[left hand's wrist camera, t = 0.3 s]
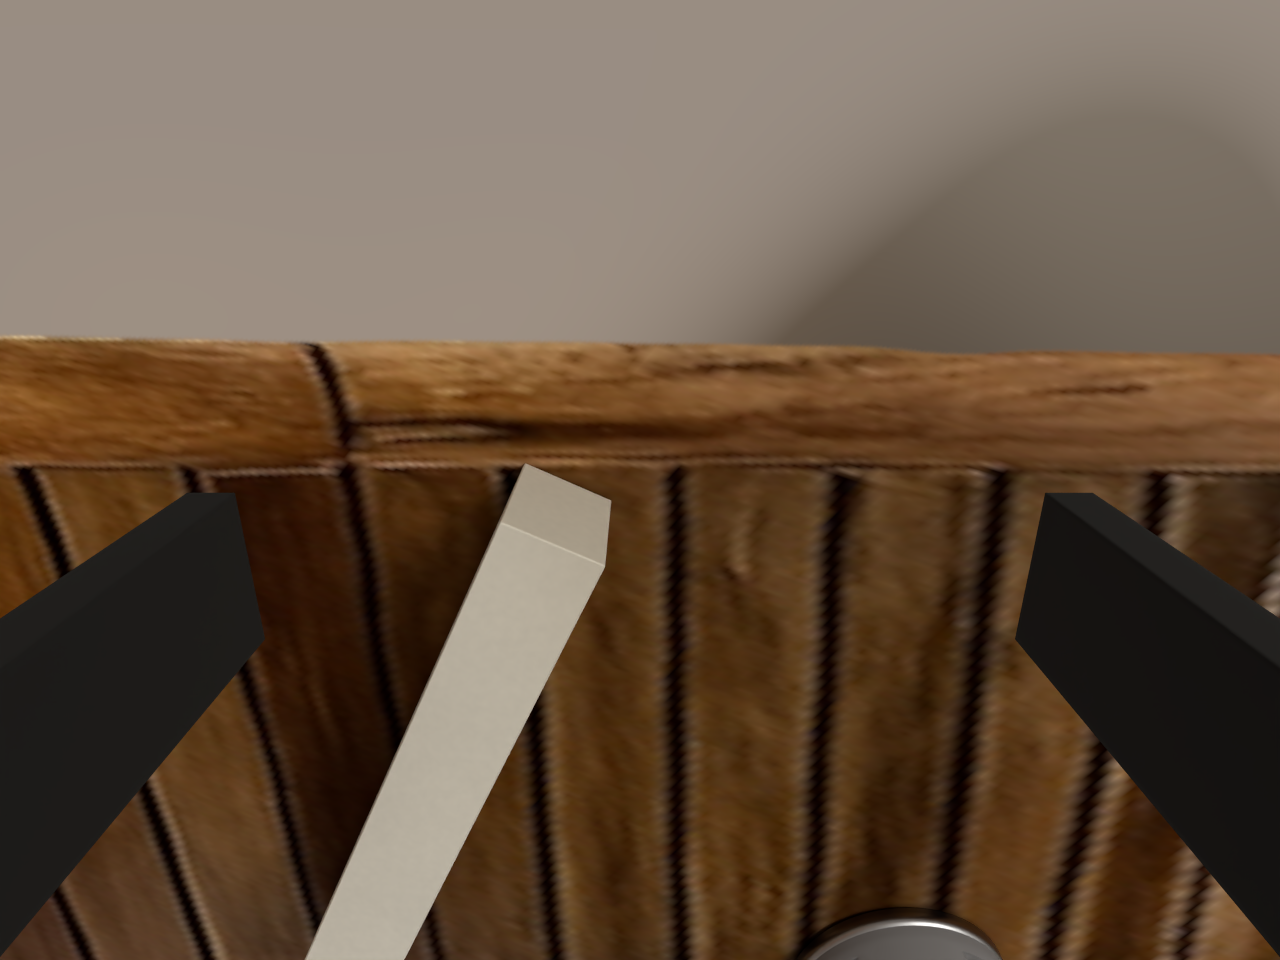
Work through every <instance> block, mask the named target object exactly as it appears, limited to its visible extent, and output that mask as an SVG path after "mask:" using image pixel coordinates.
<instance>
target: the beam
mask: <svg viewBox="0 0 1280 960" xmlns="http://www.w3.org/2000/svg"><path fill="white" fill-rule="evenodd" d="M610 507H611V501H610V500H609V499H606V498H604V497H602V496H599V495H597V494H595V493H593V492H590V491H588V490H586V489H583V488H581V487H579V486H576V485H574V484H572V483H570V482H567V481H565V480H563V479H560V478H558V477H556V476H553V475H551V474H549V473H547V472H544V471H542V470H540V469H537V468H535V467H533V466H530V465H528V464H524V466H523V468H522V470H521V472H520V475H519V477H518V479H517V481H516V484H515V486H514V488H513V490H512V493H511V495H510V497H509V499H508V502H507V504H506V506H505V508H504V511H503V513H502V515H501V517H500V520H499V522H498V524H497V526H496V529H495V531H494V533H493V535H492V538H491V540H490V542H489V544H488V547H487V549H486V551H485V553H484V556H483V558H482V560H481V562H480V565H479V567H478V569H477V571H476V574H475V576H474V578H473V580H472V583H471V585H470V587H469V589H468V592H467V594H466V596H465V598H464V601H463V603H462V605H461V607H460V610H459V612H458V614H457V616H456V619H455V621H454V623H453V625H452V628H451V630H450V632H449V634H448V637H447V639H446V641H445V643H444V646H443V648H442V650H441V652H440V655H439V657H438V659H437V661H436V664H435V666H434V668H433V670H432V673H431V675H430V677H429V679H428V682H427V684H426V686H425V688H424V691H423V693H422V695H421V697H420V700H419V702H418V704H417V706H416V709H415V711H414V713H413V715H412V718H411V720H410V722H409V724H408V727H407V729H406V731H405V733H404V736H403V738H402V740H401V742H400V745H399V747H398V749H397V751H396V754H395V756H394V758H393V760H392V763H391V765H390V767H389V769H388V772H387V774H386V776H385V778H384V781H383V783H382V785H381V788H380V790H379V792H378V794H377V797H376V799H375V801H374V803H373V806H372V808H371V810H370V812H369V815H368V817H367V819H366V821H365V824H364V826H363V828H362V830H361V833H360V835H359V837H358V839H357V842H356V844H355V846H354V848H353V851H352V853H351V855H350V857H349V860H348V862H347V864H346V866H345V869H344V871H343V873H342V875H341V878H340V880H339V882H338V884H337V887H336V889H335V891H334V893H333V896H332V898H331V900H330V902H329V905H328V907H327V909H326V912H325V914H324V916H323V918H322V921H321V923H320V925H319V928H318V930H317V932H316V935H315V937H314V939H313V941H312V944H311V946H310V948H309V951H308V953H307V955H306V957H305V960H404V959H405V957H406V955H407V953H408V951H409V949H410V947H411V945H412V943H413V941H414V940H415V938H416V936H417V934H418V932H419V930H420V928H421V926H422V924H423V922H424V920H425V918H426V916H427V914H428V912H429V910H430V908H431V906H432V904H433V902H434V900H435V898H436V896H437V895H438V893H439V891H440V889H441V887H442V885H443V883H444V881H445V879H446V877H447V875H448V873H449V871H450V869H451V867H452V865H453V863H454V861H455V859H456V857H457V855H458V853H459V851H460V850H461V848H462V846H463V844H464V842H465V840H466V838H467V836H468V834H469V832H470V830H471V828H472V826H473V824H474V822H475V820H476V818H477V816H478V814H479V812H480V810H481V808H482V806H483V805H484V803H485V801H486V799H487V797H488V795H489V793H490V791H491V789H492V787H493V785H494V783H495V781H496V779H497V777H498V775H499V773H500V771H501V769H502V767H503V765H504V763H505V761H506V760H507V758H508V756H509V754H510V752H511V750H512V748H513V746H514V744H515V742H516V740H517V738H518V736H519V734H520V732H521V730H522V728H523V726H524V724H525V722H526V720H527V718H528V716H529V715H530V713H531V711H532V709H533V707H534V705H535V703H536V701H537V699H538V697H539V695H540V693H541V691H542V689H543V687H544V685H545V683H546V681H547V679H548V677H549V675H550V673H551V671H552V670H553V668H554V666H555V664H556V662H557V660H558V658H559V656H560V654H561V652H562V650H563V648H564V646H565V644H566V642H567V640H568V638H569V636H570V634H571V632H572V630H573V628H574V626H575V624H576V623H577V621H578V619H579V617H580V615H581V613H582V611H583V609H584V607H585V605H586V603H587V601H588V599H589V597H590V595H591V593H592V591H593V589H594V587H595V585H596V583H597V581H598V579H599V578H600V576H601V574H602V572H603V570H604V568H605V561H606V550H607V540H608V529H609V518H610Z"/></svg>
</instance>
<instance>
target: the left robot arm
mask: <svg viewBox="0 0 1280 960" xmlns="http://www.w3.org/2000/svg"><path fill="white" fill-rule="evenodd" d="M264 640H265V637H264V632H263V628H262V623H261V618H260V613H259V608H258V603H257V599H256V594H255V589H254V584H253V579H252V574H251V570H250V565H249V560H248V555H247V550H246V545H245V541H244V536H243V531H242V526H241V521H240V516H239V512H238V507H237V502H236V497H235V493H186V494H185V495H184V496H182V497H181V498H179V499H178V500H176V501H175V502H173V503H172V504H170V505H169V506H167V507H166V508H164V509H163V510H161V511H160V512H158V513H157V514H155V515H154V516H152V517H151V518H149V519H148V520H146V521H145V522H143V523H142V524H140V525H139V526H137V527H136V528H134V529H133V530H131V531H130V532H128V533H127V534H125V535H124V536H122V537H121V538H119V539H118V540H117V541H115V542H114V543H112V544H111V545H109V546H108V547H106V548H105V549H103V550H102V551H100V552H99V553H97V554H96V555H94V556H93V557H91V558H90V559H88V560H87V561H85V562H84V563H82V564H81V565H79V566H78V567H76V568H75V569H73V570H72V571H70V572H69V573H67V574H66V575H64V576H63V577H61V578H60V579H58V580H57V581H55V582H54V583H53V584H51V585H50V586H48V587H47V588H45V589H44V590H42V591H41V592H39V593H38V594H36V595H35V596H33V597H32V598H30V599H29V600H27V601H26V602H24V603H23V604H21V605H20V606H18V607H17V608H15V609H14V610H12V611H11V612H9V613H8V614H6V615H5V616H3V617H2V618H0V956H1V955H2V954H3V953H4V952H5V950H6V949H7V948H8V947H9V946H10V944H11V943H12V942H13V941H14V940H15V938H16V937H17V936H18V935H19V934H20V932H21V931H22V930H23V929H24V928H25V926H26V925H27V924H28V923H29V922H30V920H31V919H32V918H33V917H34V916H35V914H36V913H37V912H38V911H39V910H40V908H41V907H42V906H43V905H44V904H45V902H46V901H47V900H48V899H49V898H50V896H51V895H52V894H53V893H54V892H55V890H56V889H57V888H58V887H59V886H60V884H61V883H62V882H63V881H64V880H65V878H66V877H67V876H68V875H69V874H70V872H71V871H72V870H73V869H74V868H75V866H76V865H77V864H78V863H79V862H80V860H81V859H82V858H83V857H84V856H85V854H86V853H87V852H88V851H89V850H90V848H91V847H92V846H93V845H94V844H95V842H96V841H97V840H98V839H99V838H100V836H101V835H102V834H103V833H104V832H105V830H106V829H107V828H108V827H109V826H110V824H111V823H112V822H113V821H114V820H115V818H116V817H117V816H118V815H119V814H120V812H121V811H122V810H123V809H124V808H125V806H126V805H127V804H128V803H129V802H130V800H131V799H132V798H133V797H134V796H135V794H136V793H137V792H138V791H139V790H140V788H141V787H142V786H143V785H144V784H145V782H146V781H147V780H148V779H149V778H150V776H151V775H152V774H153V773H154V772H155V770H156V769H157V768H158V767H159V766H160V764H161V763H162V762H163V761H164V760H165V758H166V757H167V756H168V755H169V754H170V752H171V751H172V750H173V749H174V748H175V746H176V745H177V744H178V743H179V742H180V740H181V739H182V738H183V737H184V736H185V734H186V733H187V732H188V731H189V730H190V728H191V727H192V726H193V725H194V724H195V722H196V721H197V720H198V719H199V718H200V716H201V715H202V714H203V713H204V712H205V710H206V709H207V708H208V707H209V706H210V704H211V703H212V702H213V701H214V700H215V698H216V697H217V696H218V695H219V694H220V692H221V691H222V690H223V689H224V688H225V686H226V685H227V684H228V683H229V682H230V680H231V679H232V678H233V677H234V676H235V674H236V673H237V672H238V671H239V670H240V668H241V667H242V666H243V665H244V664H245V662H246V661H247V660H248V659H249V658H250V656H251V655H252V654H253V653H254V652H255V650H256V649H257V648H258V647H259V646H260V644H261V643H262V642H263V641H264ZM1015 640H1016V641H1017V642H1018V643H1019V644H1020V646H1021V647H1022V648H1023V649H1024V650H1025V652H1026V653H1027V654H1028V655H1029V656H1030V658H1031V659H1032V660H1033V661H1034V662H1035V664H1036V665H1037V666H1038V667H1039V668H1040V670H1041V671H1042V672H1043V673H1044V674H1045V676H1046V677H1047V678H1048V679H1049V680H1050V682H1051V683H1052V684H1053V685H1054V686H1055V688H1056V689H1057V690H1058V691H1059V692H1060V694H1061V695H1062V696H1063V697H1064V698H1065V700H1066V701H1067V702H1068V703H1069V704H1070V706H1071V707H1072V708H1073V709H1074V710H1075V712H1076V713H1077V714H1078V715H1079V716H1080V718H1081V719H1082V720H1083V721H1084V722H1085V724H1086V725H1087V726H1088V727H1089V728H1090V730H1091V731H1092V732H1093V733H1094V734H1095V736H1096V737H1097V738H1098V739H1099V740H1100V742H1101V743H1102V744H1103V745H1104V746H1105V748H1106V749H1107V750H1108V751H1109V752H1110V754H1111V755H1112V756H1113V757H1114V758H1115V760H1116V761H1117V762H1118V763H1119V764H1120V766H1121V767H1122V768H1123V769H1124V770H1125V772H1126V773H1127V774H1128V775H1129V776H1130V778H1131V779H1132V780H1133V781H1134V782H1135V784H1136V785H1137V786H1138V787H1139V788H1140V790H1141V791H1142V792H1143V793H1144V794H1145V796H1146V797H1147V798H1148V799H1149V800H1150V802H1151V803H1152V804H1153V805H1154V806H1155V808H1156V809H1157V810H1158V811H1159V812H1160V814H1161V815H1162V816H1163V817H1164V818H1165V820H1166V821H1167V822H1168V823H1169V824H1170V826H1171V827H1172V828H1173V829H1174V830H1175V832H1176V833H1177V834H1178V835H1179V836H1180V838H1181V839H1182V840H1183V841H1184V842H1185V844H1186V845H1187V846H1188V847H1189V848H1190V850H1191V851H1192V852H1193V853H1194V854H1195V856H1196V857H1197V858H1198V859H1199V860H1200V862H1201V863H1202V864H1203V865H1204V866H1205V868H1206V869H1207V870H1208V871H1209V872H1210V874H1211V875H1212V876H1213V877H1214V878H1215V880H1216V881H1217V882H1218V883H1219V884H1220V886H1221V887H1222V888H1223V889H1224V890H1225V892H1226V893H1227V894H1228V895H1229V896H1230V898H1231V899H1232V900H1233V901H1234V902H1235V904H1236V905H1237V906H1238V907H1239V908H1240V910H1241V911H1242V912H1243V913H1244V914H1245V916H1246V917H1247V918H1248V919H1249V920H1250V922H1251V923H1252V924H1253V925H1254V926H1255V928H1256V929H1257V930H1258V931H1259V932H1260V934H1261V935H1262V936H1263V937H1264V938H1265V940H1266V941H1267V942H1268V943H1269V944H1270V946H1271V947H1272V948H1273V949H1274V950H1275V952H1276V953H1277V954H1278V955H1279V956H1280V618H1278V617H1277V616H1275V615H1274V614H1272V613H1271V612H1269V611H1268V610H1266V609H1265V608H1263V607H1262V606H1260V605H1259V604H1257V603H1256V602H1254V601H1253V600H1251V599H1250V598H1248V597H1247V596H1245V595H1244V594H1242V593H1241V592H1239V591H1238V590H1236V589H1235V588H1233V587H1232V586H1230V585H1229V584H1227V583H1226V582H1225V581H1223V580H1222V579H1220V578H1219V577H1217V576H1216V575H1214V574H1213V573H1211V572H1210V571H1208V570H1207V569H1205V568H1204V567H1202V566H1201V565H1199V564H1198V563H1196V562H1195V561H1193V560H1192V559H1190V558H1189V557H1187V556H1186V555H1184V554H1183V553H1181V552H1180V551H1178V550H1177V549H1175V548H1174V547H1172V546H1171V545H1169V544H1168V543H1166V542H1165V541H1163V540H1162V539H1161V538H1159V537H1158V536H1156V535H1155V534H1153V533H1152V532H1150V531H1149V530H1147V529H1146V528H1144V527H1143V526H1141V525H1140V524H1138V523H1137V522H1135V521H1134V520H1132V519H1131V518H1129V517H1128V516H1126V515H1125V514H1123V513H1122V512H1120V511H1119V510H1117V509H1116V508H1114V507H1113V506H1111V505H1110V504H1108V503H1107V502H1105V501H1104V500H1102V499H1101V498H1099V497H1098V496H1096V495H1095V494H1094V493H1045V497H1044V502H1043V507H1042V512H1041V516H1040V521H1039V526H1038V531H1037V536H1036V541H1035V545H1034V550H1033V555H1032V560H1031V565H1030V570H1029V574H1028V579H1027V584H1026V589H1025V594H1024V599H1023V603H1022V608H1021V613H1020V618H1019V623H1018V628H1017V632H1016V637H1015ZM796 960H1002V958H1001V955H1000V953H999V951H998V950H997V948H996V946H995V944H994V943H993V942H992V941H991V939H990V938H989V937H988V936H987V935H986V934H985V933H984V932H983V931H981V930H980V929H979V928H978V927H976V926H975V925H973V924H971V923H970V922H968V921H966V920H964V919H962V918H960V917H957V916H954V915H952V914H948V913H945V912H941V911H936V910H932V909H924V908H892V909H884V910H878V911H873V912H869V913H865V914H862V915H859V916H855V917H853V918H850V919H848V920H845V921H843V922H841V923H839V924H837V925H835V926H833V927H831V928H830V929H828V930H826V931H825V932H823V933H822V934H820V935H819V936H818V937H816V938H815V939H814V940H813V941H812V942H810V943H809V944H808V946H807V947H806V948H805V949H804V950H803V951H802V952H801V953H800V955H799V956H798V957H797V959H796Z"/></svg>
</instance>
